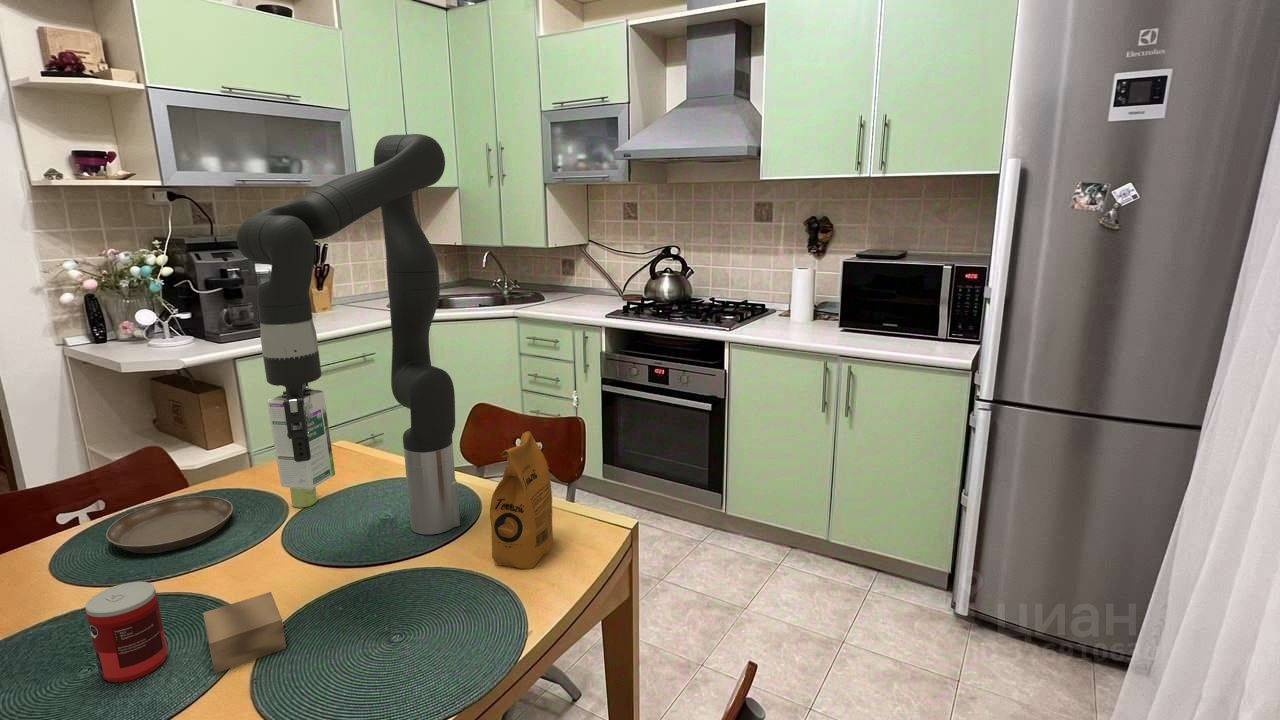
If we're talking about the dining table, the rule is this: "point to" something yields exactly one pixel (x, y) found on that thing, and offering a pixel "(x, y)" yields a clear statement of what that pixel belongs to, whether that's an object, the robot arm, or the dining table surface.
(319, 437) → the syrup box
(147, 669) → the canned food
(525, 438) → the coffee package
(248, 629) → the base block
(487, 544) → the dining table surface
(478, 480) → the dining table surface
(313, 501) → the tube
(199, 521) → the plant saucer
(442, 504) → the robot arm
